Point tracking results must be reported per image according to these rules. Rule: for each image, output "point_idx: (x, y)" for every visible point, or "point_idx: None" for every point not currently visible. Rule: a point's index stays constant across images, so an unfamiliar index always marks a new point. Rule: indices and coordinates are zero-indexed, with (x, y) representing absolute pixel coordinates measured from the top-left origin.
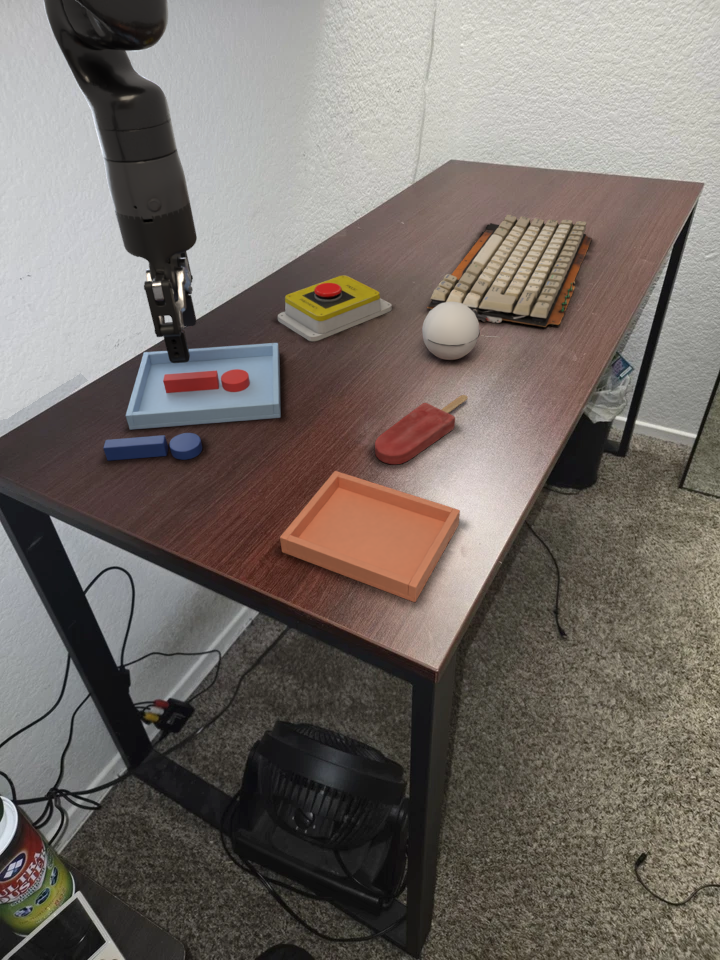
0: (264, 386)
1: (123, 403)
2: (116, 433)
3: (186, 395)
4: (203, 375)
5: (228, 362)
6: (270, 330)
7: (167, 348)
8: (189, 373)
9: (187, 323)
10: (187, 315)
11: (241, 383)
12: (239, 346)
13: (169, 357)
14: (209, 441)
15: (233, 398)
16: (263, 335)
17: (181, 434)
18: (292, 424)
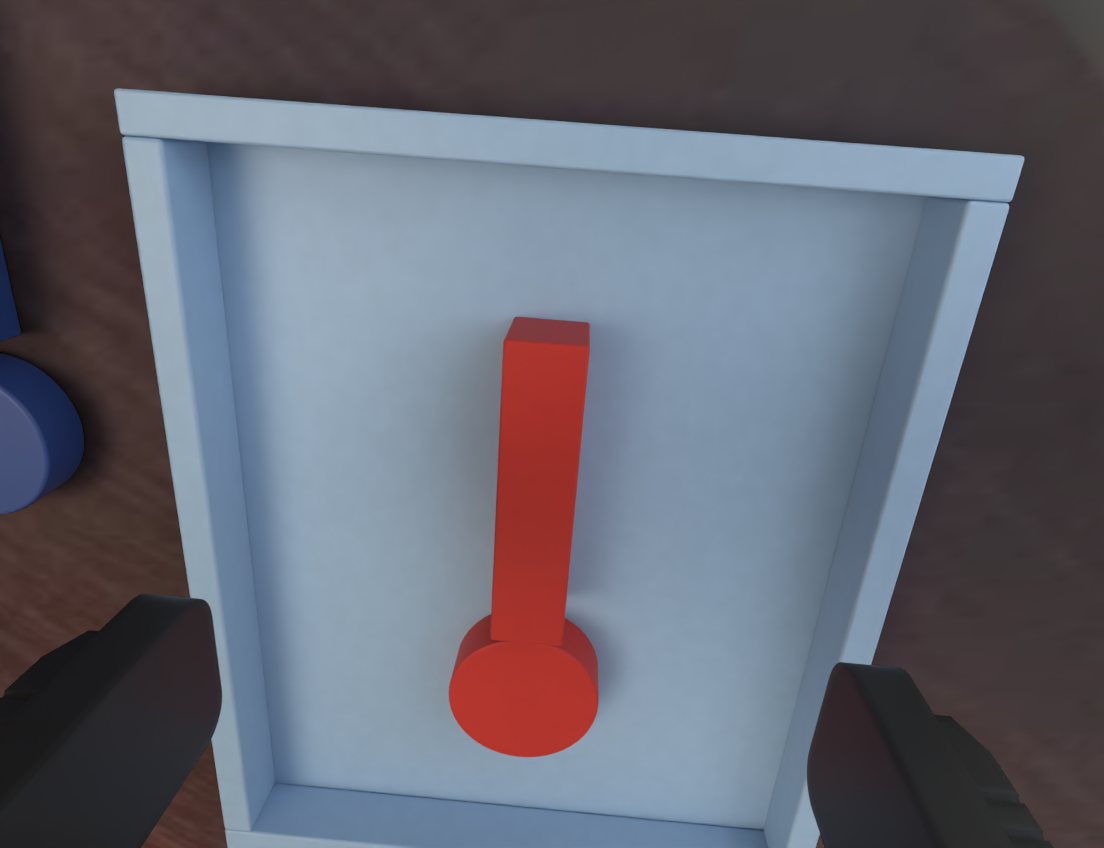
0: (486, 768)
1: (492, 15)
2: (148, 6)
3: (469, 431)
4: (520, 577)
5: (769, 644)
6: (1065, 826)
7: (41, 694)
8: (561, 502)
9: (829, 741)
10: (853, 832)
11: (458, 719)
12: None
13: (119, 619)
14: (91, 519)
15: (400, 646)
16: (1026, 794)
17: (24, 428)
18: (216, 810)
